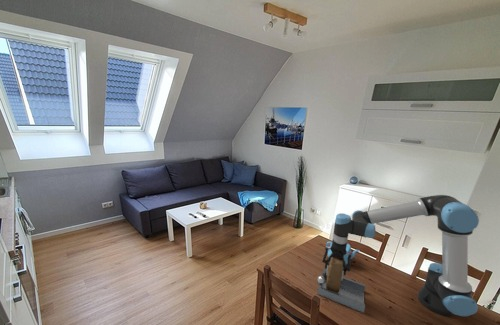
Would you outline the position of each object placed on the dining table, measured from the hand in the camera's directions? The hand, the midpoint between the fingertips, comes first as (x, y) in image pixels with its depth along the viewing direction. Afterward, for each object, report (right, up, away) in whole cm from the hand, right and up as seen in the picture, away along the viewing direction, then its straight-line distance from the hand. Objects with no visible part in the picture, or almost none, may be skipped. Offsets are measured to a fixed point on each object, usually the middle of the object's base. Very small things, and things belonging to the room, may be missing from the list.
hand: (334, 276), depth 122 cm
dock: (+3, -9, 0) cm, 10 cm away
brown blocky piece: (0, -7, +1) cm, 7 cm away
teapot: (+16, -4, +29) cm, 33 cm away
